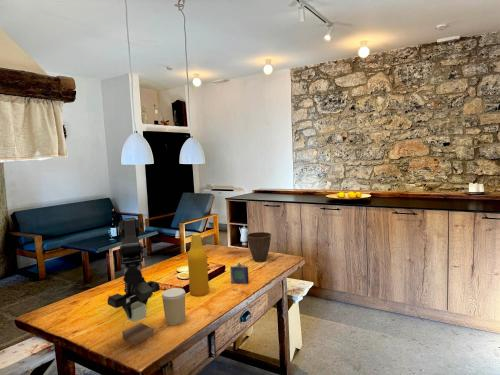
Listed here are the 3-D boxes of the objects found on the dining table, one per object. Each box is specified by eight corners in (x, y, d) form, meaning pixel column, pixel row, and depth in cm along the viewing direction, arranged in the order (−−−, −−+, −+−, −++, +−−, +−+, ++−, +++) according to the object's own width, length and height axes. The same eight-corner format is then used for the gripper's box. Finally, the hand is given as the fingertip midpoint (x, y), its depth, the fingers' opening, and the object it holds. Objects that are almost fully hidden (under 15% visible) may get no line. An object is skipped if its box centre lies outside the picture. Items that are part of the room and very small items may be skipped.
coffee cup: (177, 313, 147) (175, 285, 145) (191, 319, 141) (190, 290, 139) (158, 321, 139) (156, 293, 138) (173, 328, 134) (171, 299, 132)
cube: (127, 319, 128) (126, 306, 127) (138, 313, 132) (137, 301, 131) (134, 322, 125) (133, 309, 124) (146, 317, 129) (145, 304, 128)
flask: (230, 283, 177) (229, 263, 176) (231, 281, 180) (231, 261, 178) (248, 284, 175) (247, 263, 174) (249, 282, 178) (248, 262, 177)
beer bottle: (210, 294, 164) (207, 235, 161) (191, 297, 161) (187, 237, 158) (207, 287, 173) (203, 231, 170) (188, 290, 170) (184, 233, 167)
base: (122, 339, 128) (122, 331, 128) (141, 329, 135) (140, 322, 134) (135, 345, 123) (134, 337, 123) (153, 336, 130) (153, 328, 129)
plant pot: (242, 261, 211) (241, 236, 209) (257, 255, 223) (256, 231, 221) (262, 265, 202) (261, 239, 200) (276, 258, 214) (275, 233, 212)
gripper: (122, 288, 114) (126, 333, 116) (167, 271, 129) (170, 311, 130) (104, 281, 121) (108, 323, 123) (149, 266, 136) (152, 304, 137)
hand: (136, 315), depth 128 cm, fingers closed on cube, 5 cm apart
